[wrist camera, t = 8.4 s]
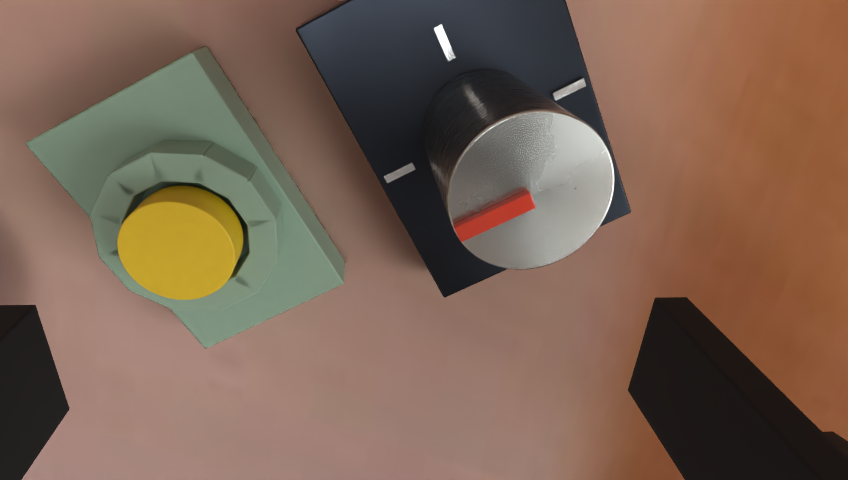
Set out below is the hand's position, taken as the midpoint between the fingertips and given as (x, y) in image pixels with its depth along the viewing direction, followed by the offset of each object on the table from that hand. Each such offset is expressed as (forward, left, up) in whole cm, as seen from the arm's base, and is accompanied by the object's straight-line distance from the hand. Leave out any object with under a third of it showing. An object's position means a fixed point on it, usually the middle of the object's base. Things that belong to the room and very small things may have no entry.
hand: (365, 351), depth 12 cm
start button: (+1, +8, -11) cm, 14 cm away
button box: (+1, +8, -15) cm, 17 cm away
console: (-1, -5, -15) cm, 16 cm away
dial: (-1, -5, -13) cm, 14 cm away
